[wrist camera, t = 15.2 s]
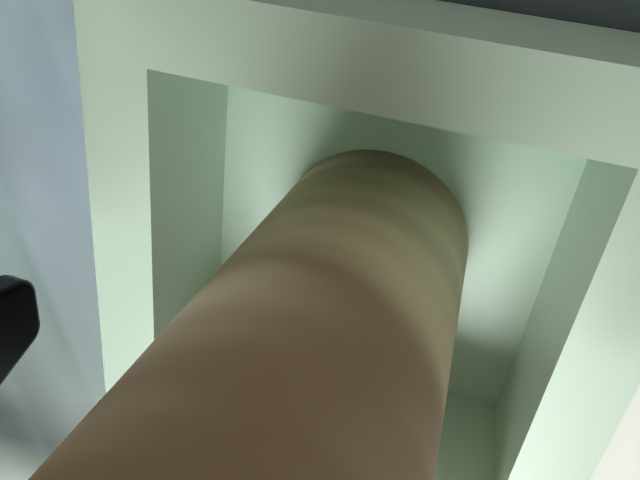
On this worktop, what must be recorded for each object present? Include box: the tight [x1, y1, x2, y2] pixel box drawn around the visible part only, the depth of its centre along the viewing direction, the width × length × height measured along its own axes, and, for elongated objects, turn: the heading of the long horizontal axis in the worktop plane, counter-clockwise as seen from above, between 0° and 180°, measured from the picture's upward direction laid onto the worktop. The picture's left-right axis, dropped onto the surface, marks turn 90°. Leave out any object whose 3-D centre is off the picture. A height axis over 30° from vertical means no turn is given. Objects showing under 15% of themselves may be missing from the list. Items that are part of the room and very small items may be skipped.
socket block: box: [73, 0, 640, 480], centre depth 11 cm, size 9×9×4 cm
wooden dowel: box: [28, 150, 469, 480], centre depth 8 cm, size 4×4×10 cm
